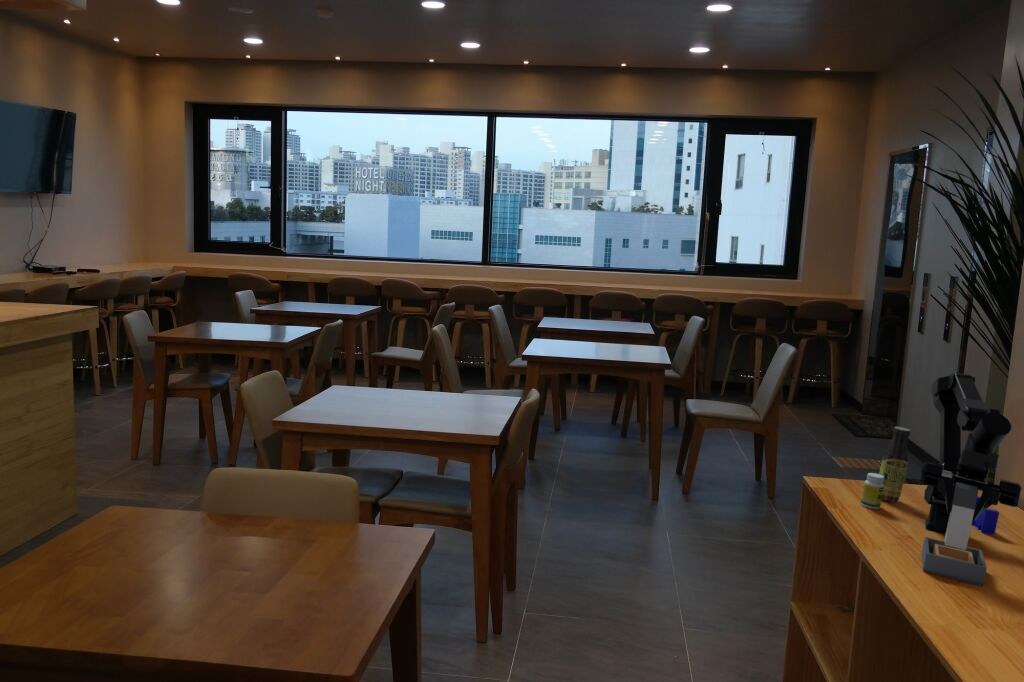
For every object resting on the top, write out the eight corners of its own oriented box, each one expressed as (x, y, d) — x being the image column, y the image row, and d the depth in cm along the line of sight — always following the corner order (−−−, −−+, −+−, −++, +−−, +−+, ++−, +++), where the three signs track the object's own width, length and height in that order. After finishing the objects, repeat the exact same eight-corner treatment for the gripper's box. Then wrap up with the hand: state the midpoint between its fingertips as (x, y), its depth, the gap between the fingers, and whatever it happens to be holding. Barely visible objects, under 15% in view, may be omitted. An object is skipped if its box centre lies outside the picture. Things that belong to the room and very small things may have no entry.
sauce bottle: (877, 501, 218) (891, 429, 215) (871, 493, 224) (884, 423, 221) (903, 505, 217) (917, 432, 214) (896, 497, 223) (909, 427, 220)
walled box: (921, 553, 183) (924, 536, 182) (978, 567, 178) (981, 550, 178) (922, 571, 173) (926, 553, 172) (982, 586, 168) (986, 567, 168)
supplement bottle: (878, 510, 210) (884, 479, 208) (859, 505, 212) (864, 474, 211) (881, 506, 214) (887, 475, 212) (862, 501, 216) (867, 470, 215)
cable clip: (958, 515, 213) (962, 493, 212) (976, 518, 213) (981, 496, 212) (974, 532, 202) (979, 509, 201) (994, 535, 201) (999, 512, 200)
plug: (944, 539, 177) (956, 482, 175) (965, 544, 176) (977, 486, 173) (944, 544, 174) (956, 486, 172) (966, 550, 172) (978, 491, 170)
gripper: (931, 426, 179) (913, 484, 172) (1030, 447, 169) (1015, 510, 162) (930, 453, 187) (912, 511, 180) (1024, 475, 177) (1010, 537, 169)
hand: (960, 516), depth 172 cm, fingers closed on plug, 4 cm apart
